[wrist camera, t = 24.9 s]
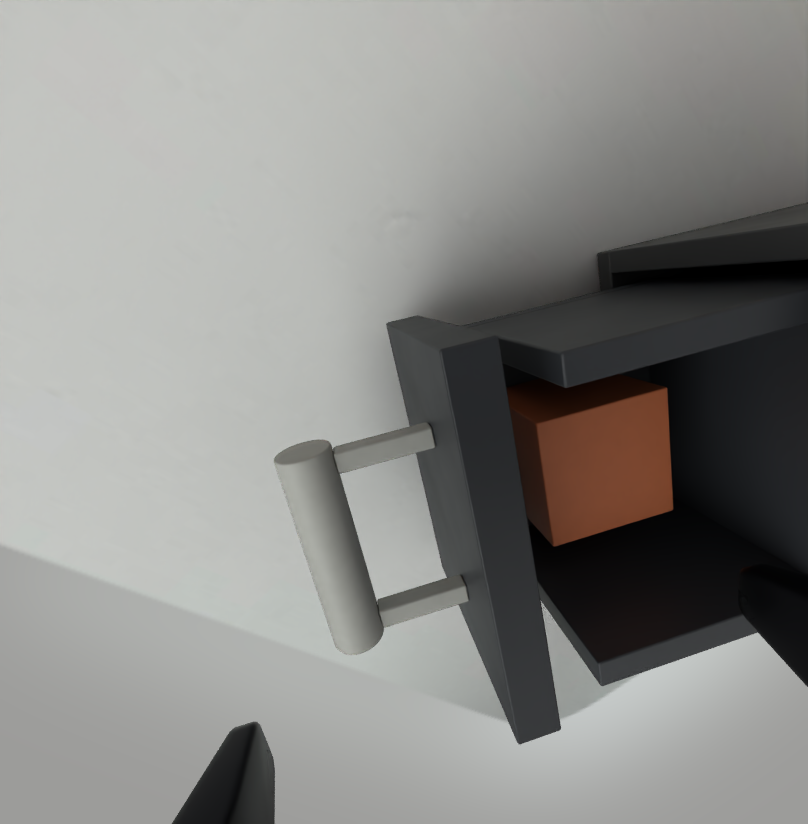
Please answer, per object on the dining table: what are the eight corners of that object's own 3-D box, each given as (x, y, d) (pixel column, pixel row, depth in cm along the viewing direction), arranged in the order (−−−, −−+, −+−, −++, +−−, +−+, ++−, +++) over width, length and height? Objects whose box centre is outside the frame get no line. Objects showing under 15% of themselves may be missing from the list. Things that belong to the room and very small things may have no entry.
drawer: (346, 596, 18) (360, 802, 11) (269, 351, 15) (218, 405, 8) (656, 501, 20) (855, 626, 12) (641, 260, 17) (891, 235, 9)
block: (485, 392, 16) (535, 423, 12) (588, 365, 16) (668, 387, 13) (502, 491, 17) (553, 548, 13) (598, 462, 18) (674, 510, 14)
